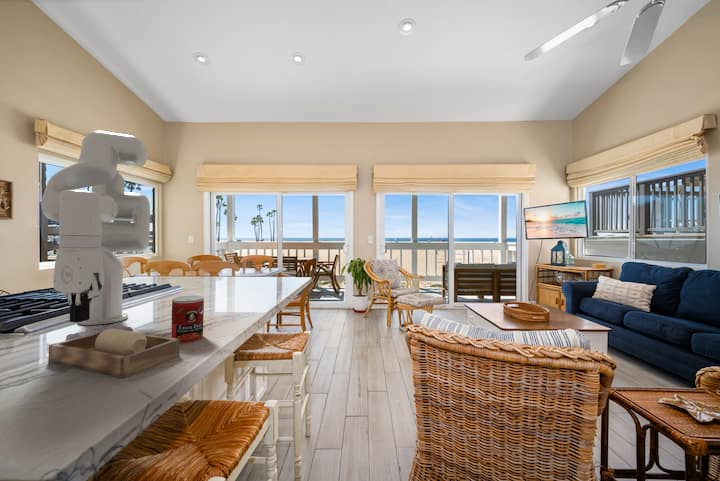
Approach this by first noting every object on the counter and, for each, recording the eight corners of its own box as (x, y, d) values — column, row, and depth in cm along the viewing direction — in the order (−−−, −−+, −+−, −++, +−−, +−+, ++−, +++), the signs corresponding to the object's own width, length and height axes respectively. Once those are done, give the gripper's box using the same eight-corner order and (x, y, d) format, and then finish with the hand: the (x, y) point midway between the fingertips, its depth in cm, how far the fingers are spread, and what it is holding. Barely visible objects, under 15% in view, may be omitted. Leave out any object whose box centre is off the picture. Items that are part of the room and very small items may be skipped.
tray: (48, 362, 69) (48, 345, 69) (111, 344, 81) (111, 329, 81) (123, 378, 62) (124, 358, 62) (179, 355, 74) (179, 339, 74)
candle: (111, 323, 74) (143, 327, 71) (124, 339, 77) (156, 344, 74) (89, 342, 69) (122, 348, 66) (103, 358, 72) (136, 364, 69)
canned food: (174, 345, 81) (175, 302, 81) (168, 337, 87) (169, 297, 87) (206, 339, 86) (207, 298, 86) (198, 332, 92) (199, 294, 92)
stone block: (59, 355, 78) (89, 352, 75) (57, 335, 78) (87, 331, 76) (109, 342, 89) (136, 339, 87) (107, 325, 90) (135, 321, 87)
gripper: (39, 242, 74) (38, 321, 74) (85, 244, 69) (84, 328, 70) (76, 242, 81) (75, 314, 81) (120, 244, 77) (119, 320, 77)
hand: (79, 320), depth 75 cm, fingers closed
